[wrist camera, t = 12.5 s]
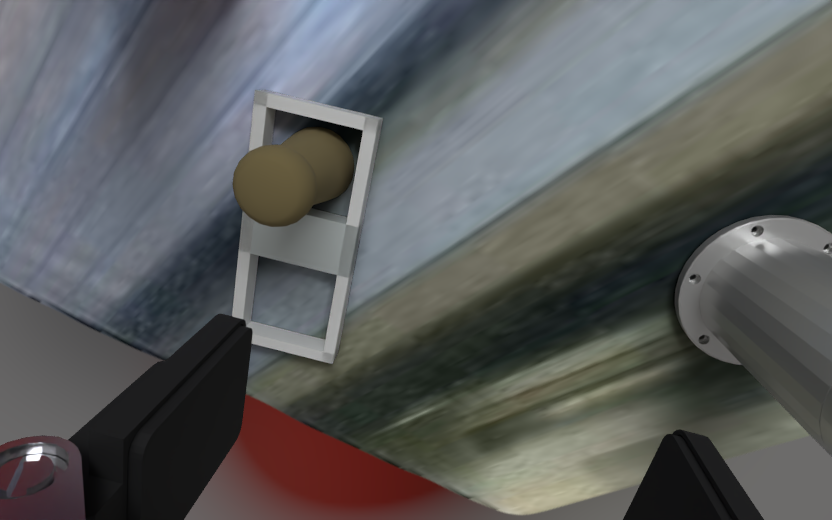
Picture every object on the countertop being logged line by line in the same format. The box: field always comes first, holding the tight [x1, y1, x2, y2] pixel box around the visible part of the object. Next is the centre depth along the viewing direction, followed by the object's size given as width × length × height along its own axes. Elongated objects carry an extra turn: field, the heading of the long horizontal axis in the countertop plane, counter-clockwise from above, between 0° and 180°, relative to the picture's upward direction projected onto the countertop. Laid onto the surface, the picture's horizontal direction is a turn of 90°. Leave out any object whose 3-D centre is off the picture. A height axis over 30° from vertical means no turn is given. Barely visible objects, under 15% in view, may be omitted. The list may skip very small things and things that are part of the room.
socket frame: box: [232, 90, 383, 364], centre depth 41 cm, size 10×22×2 cm, turn 167°
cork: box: [233, 127, 354, 227], centre depth 35 cm, size 6×6×11 cm
